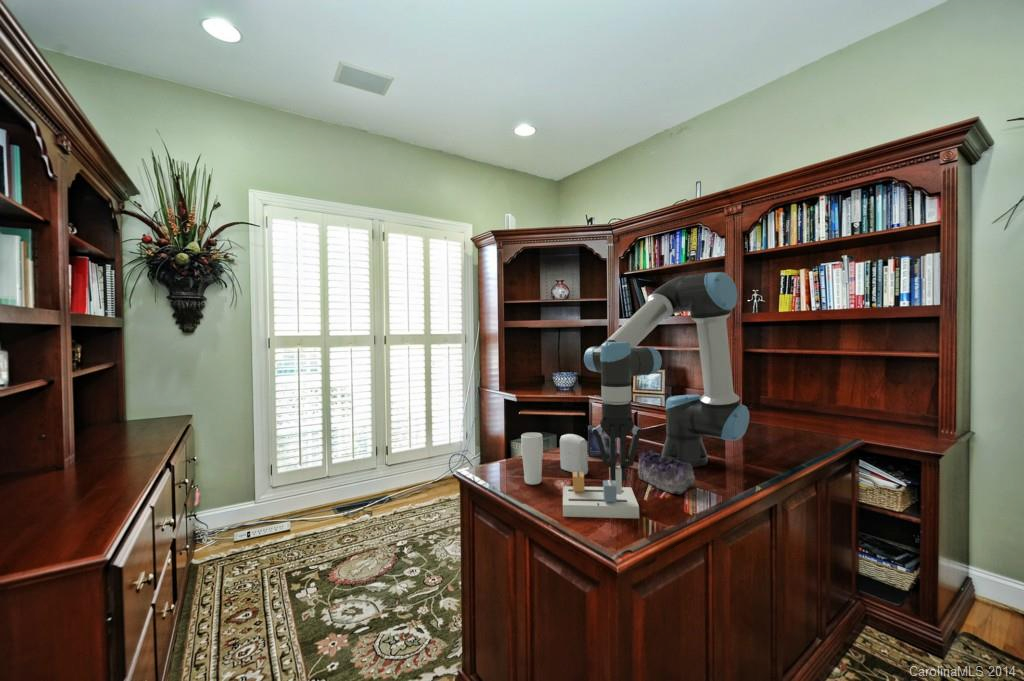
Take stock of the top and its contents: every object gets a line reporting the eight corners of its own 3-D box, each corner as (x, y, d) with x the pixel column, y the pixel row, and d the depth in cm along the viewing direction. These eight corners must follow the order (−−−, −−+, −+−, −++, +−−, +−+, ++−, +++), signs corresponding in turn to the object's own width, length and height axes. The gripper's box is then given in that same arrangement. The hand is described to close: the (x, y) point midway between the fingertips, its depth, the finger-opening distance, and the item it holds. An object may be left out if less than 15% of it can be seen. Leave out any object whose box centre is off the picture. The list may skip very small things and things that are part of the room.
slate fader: (614, 495, 113) (614, 479, 113) (616, 501, 109) (616, 485, 109) (603, 495, 114) (602, 479, 114) (604, 501, 110) (604, 485, 110)
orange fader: (583, 486, 121) (583, 471, 121) (584, 491, 117) (584, 476, 117) (573, 485, 121) (572, 471, 121) (573, 491, 117) (572, 476, 117)
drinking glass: (529, 487, 130) (527, 438, 130) (518, 481, 136) (517, 434, 136) (547, 483, 134) (546, 435, 133) (536, 477, 140) (535, 431, 139)
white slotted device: (558, 469, 147) (557, 433, 147) (567, 466, 150) (566, 431, 149) (581, 476, 139) (580, 438, 139) (590, 473, 142) (589, 436, 141)
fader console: (631, 497, 121) (631, 486, 120) (639, 518, 108) (639, 505, 108) (563, 496, 123) (562, 485, 123) (563, 516, 110) (562, 504, 110)
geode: (623, 478, 137) (625, 446, 138) (650, 476, 142) (652, 446, 143) (673, 497, 119) (675, 460, 120) (702, 494, 124) (704, 459, 125)
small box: (588, 457, 159) (587, 429, 159) (588, 452, 166) (587, 425, 166) (617, 457, 158) (616, 429, 157) (616, 452, 164) (615, 425, 164)
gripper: (639, 399, 114) (641, 487, 114) (589, 399, 115) (591, 486, 116) (645, 404, 106) (647, 498, 107) (591, 404, 108) (593, 497, 108)
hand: (618, 492), depth 111 cm, fingers closed
